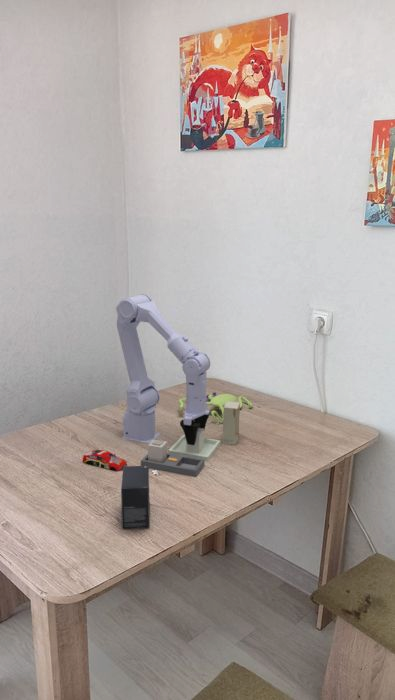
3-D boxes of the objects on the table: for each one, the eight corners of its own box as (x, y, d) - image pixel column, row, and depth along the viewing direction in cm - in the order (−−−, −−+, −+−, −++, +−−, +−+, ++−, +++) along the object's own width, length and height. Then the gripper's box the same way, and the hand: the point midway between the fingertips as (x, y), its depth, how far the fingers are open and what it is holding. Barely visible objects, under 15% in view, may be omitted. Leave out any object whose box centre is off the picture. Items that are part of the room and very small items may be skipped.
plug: (186, 450, 164) (186, 430, 162) (190, 445, 168) (191, 425, 166) (199, 453, 163) (199, 432, 161) (203, 447, 166) (204, 427, 165)
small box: (122, 504, 136) (122, 465, 133) (149, 504, 136) (149, 464, 134) (120, 529, 126) (120, 487, 123) (150, 528, 126) (149, 486, 123)
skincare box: (236, 447, 168) (237, 409, 165) (221, 445, 169) (223, 407, 166) (238, 438, 175) (240, 401, 171) (225, 437, 175) (226, 400, 172)
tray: (168, 456, 162) (168, 450, 161) (183, 439, 173) (183, 434, 172) (207, 463, 158) (207, 457, 157) (220, 446, 169) (220, 440, 168)
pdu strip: (140, 468, 154) (140, 459, 153) (151, 458, 160) (151, 449, 160) (195, 479, 149) (196, 469, 148) (204, 467, 155) (204, 458, 154)
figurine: (170, 416, 193) (170, 400, 191) (216, 395, 213) (216, 381, 212) (214, 429, 182) (214, 413, 180) (257, 406, 202) (258, 392, 201)
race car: (130, 468, 155) (130, 454, 154) (119, 476, 150) (119, 462, 149) (92, 457, 161) (91, 444, 159) (80, 465, 156) (79, 451, 155)
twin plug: (148, 465, 155) (148, 443, 153) (154, 459, 158) (154, 438, 157) (161, 467, 153) (161, 446, 152) (167, 461, 157) (167, 440, 155)
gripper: (201, 405, 153) (200, 451, 156) (217, 389, 166) (215, 432, 170) (176, 402, 155) (176, 447, 159) (194, 386, 168) (194, 428, 172)
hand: (195, 439), depth 164 cm, fingers open, 7 cm apart
